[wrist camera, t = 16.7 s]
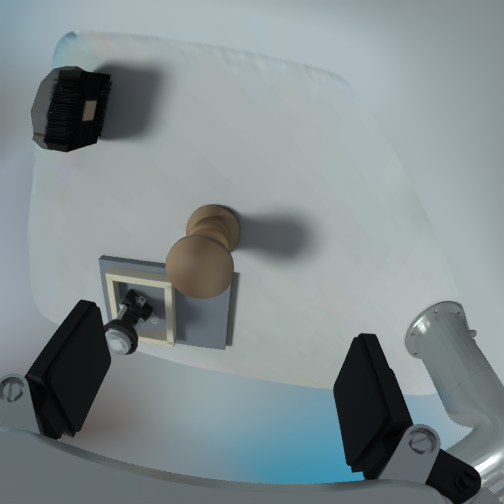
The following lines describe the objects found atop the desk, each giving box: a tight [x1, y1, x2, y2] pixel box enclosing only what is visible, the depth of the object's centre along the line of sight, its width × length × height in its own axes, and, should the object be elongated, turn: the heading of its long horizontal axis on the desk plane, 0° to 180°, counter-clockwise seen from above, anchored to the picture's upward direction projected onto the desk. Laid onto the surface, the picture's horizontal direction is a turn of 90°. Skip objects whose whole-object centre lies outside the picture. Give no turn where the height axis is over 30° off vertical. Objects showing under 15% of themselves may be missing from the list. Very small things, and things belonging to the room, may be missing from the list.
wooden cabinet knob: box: [165, 205, 240, 299], centre depth 36 cm, size 7×7×11 cm
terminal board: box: [99, 256, 231, 350], centre depth 45 cm, size 20×14×3 cm
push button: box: [104, 289, 160, 355], centre depth 41 cm, size 7×5×10 cm
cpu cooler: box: [31, 66, 112, 152], centre depth 29 cm, size 10×6×10 cm, turn 164°
